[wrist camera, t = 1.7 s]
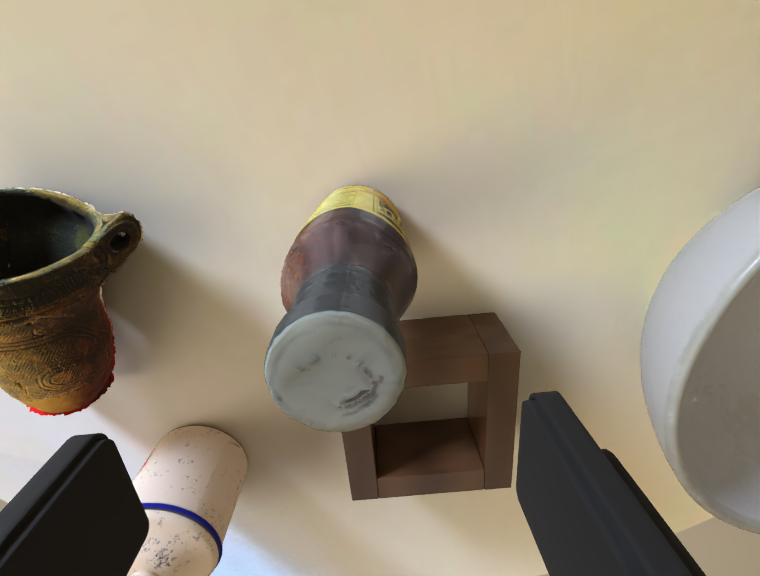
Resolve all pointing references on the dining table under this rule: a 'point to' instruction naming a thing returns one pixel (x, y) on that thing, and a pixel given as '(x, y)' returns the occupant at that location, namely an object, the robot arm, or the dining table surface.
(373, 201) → the sauce bottle
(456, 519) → the dining table surface
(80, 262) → the pot
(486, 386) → the holder
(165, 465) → the teacup with lid
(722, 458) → the decorative bowl
